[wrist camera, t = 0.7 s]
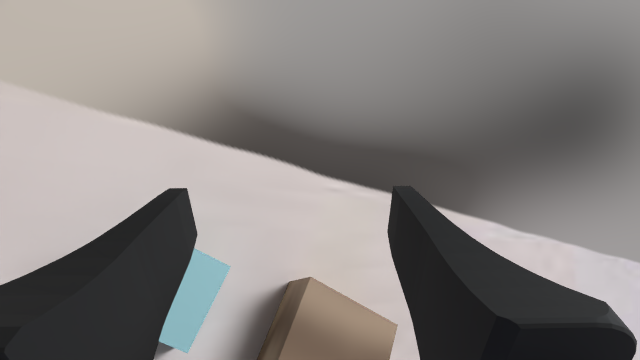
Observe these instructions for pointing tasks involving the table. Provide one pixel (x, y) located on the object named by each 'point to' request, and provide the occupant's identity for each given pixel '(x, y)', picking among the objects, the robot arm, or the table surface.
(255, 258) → the table surface
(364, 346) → the walnut block
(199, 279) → the teal cube
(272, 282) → the table surface
